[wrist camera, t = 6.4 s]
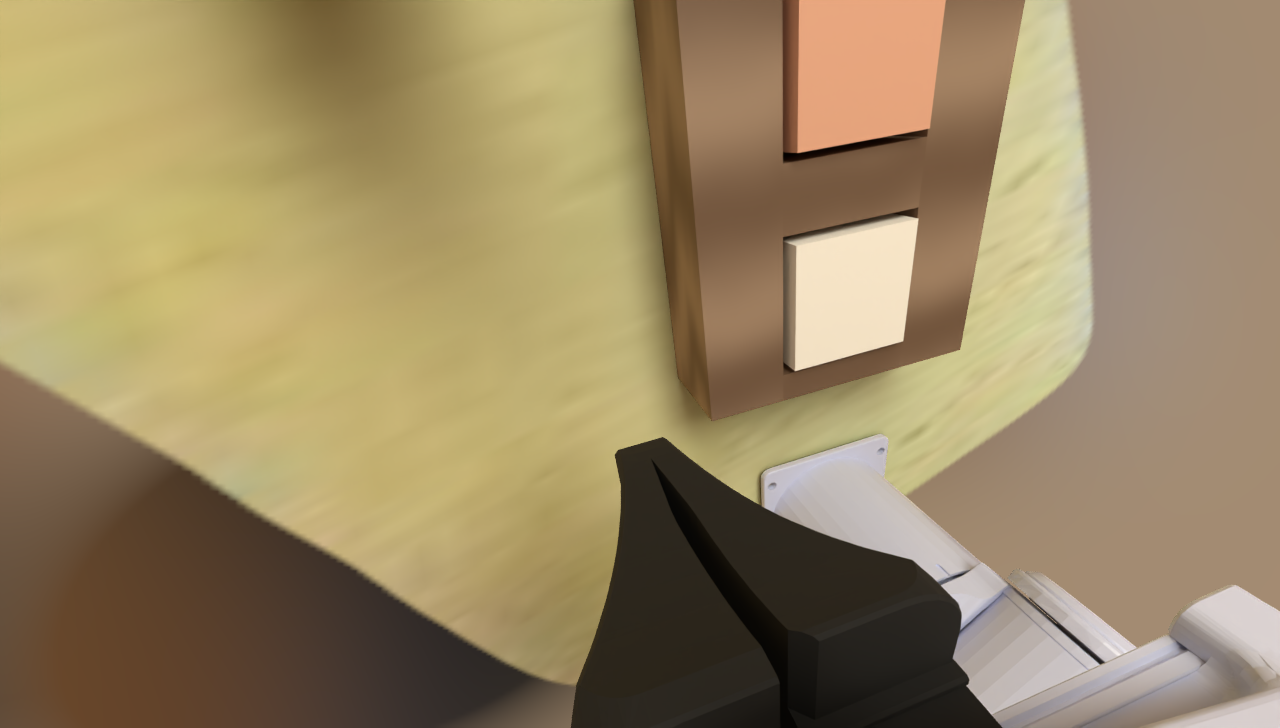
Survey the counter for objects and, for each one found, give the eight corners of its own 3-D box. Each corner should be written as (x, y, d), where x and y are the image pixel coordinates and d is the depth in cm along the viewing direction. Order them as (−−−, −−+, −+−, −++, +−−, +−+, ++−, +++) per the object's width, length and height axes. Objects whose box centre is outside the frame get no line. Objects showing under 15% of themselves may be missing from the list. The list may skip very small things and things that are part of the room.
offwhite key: (862, 320, 22) (903, 341, 20) (763, 347, 21) (795, 371, 19) (871, 209, 20) (918, 218, 18) (761, 233, 19) (796, 246, 17)
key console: (894, 319, 25) (960, 349, 22) (678, 377, 23) (711, 421, 20) (940, -80, 18) (1049, -132, 14) (627, -51, 16) (667, -104, 12)
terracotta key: (878, 128, 19) (929, 128, 16) (759, 150, 18) (797, 153, 15) (891, -36, 16) (953, -62, 14) (755, -21, 15) (799, -46, 13)
